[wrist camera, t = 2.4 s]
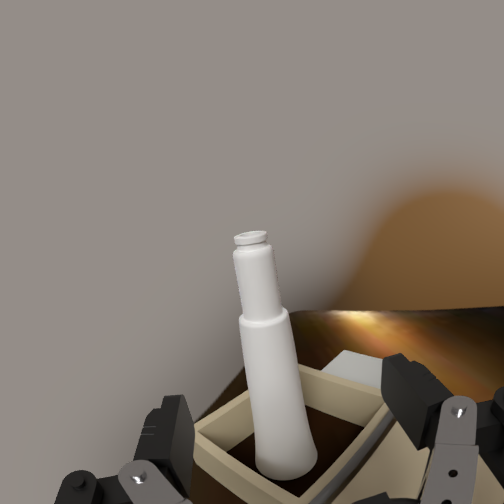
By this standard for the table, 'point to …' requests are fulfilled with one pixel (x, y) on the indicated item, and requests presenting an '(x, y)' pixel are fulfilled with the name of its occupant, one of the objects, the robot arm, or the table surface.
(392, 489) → the lid
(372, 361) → the mat
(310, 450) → the cosmetic bottle
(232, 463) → the case
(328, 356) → the table surface
